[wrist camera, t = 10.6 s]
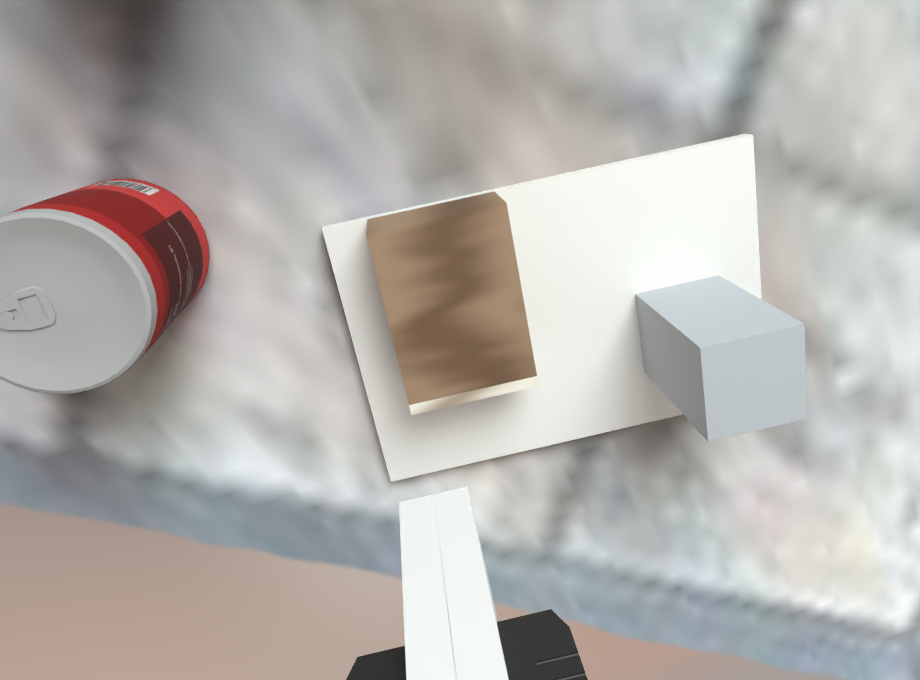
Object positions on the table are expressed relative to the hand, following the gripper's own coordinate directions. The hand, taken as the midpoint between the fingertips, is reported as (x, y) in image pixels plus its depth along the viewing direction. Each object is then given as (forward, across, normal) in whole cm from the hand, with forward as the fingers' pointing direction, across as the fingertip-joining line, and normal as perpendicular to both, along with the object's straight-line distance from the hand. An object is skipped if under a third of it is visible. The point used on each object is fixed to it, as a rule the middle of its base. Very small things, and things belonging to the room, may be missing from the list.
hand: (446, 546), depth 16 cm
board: (+26, +8, -5) cm, 28 cm away
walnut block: (+23, +2, -7) cm, 25 cm away
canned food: (+27, -14, +4) cm, 30 cm away
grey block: (+25, +15, -7) cm, 30 cm away
